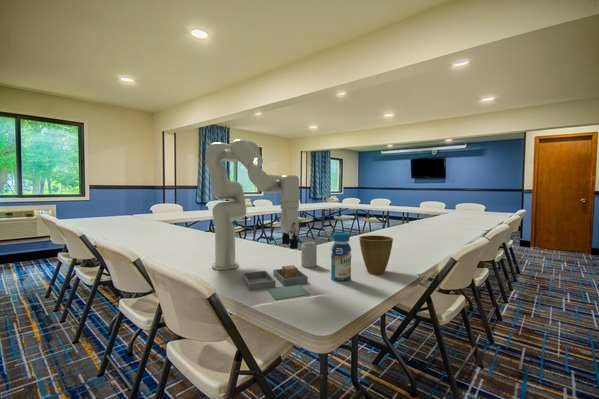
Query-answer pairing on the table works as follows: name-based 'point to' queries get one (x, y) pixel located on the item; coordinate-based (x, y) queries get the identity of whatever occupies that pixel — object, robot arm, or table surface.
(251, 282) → the bin
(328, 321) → the table surface
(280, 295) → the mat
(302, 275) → the bin
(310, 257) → the can
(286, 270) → the letter cube
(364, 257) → the plant pot
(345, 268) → the beverage bottle
